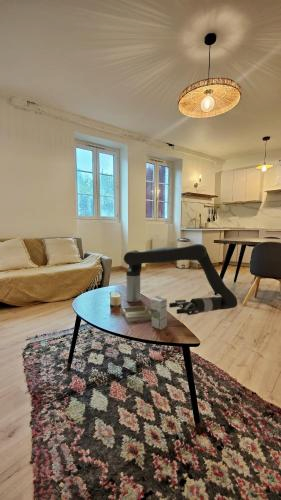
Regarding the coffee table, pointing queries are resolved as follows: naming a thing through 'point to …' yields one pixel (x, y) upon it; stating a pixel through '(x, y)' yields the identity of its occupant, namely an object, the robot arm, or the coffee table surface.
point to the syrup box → (159, 312)
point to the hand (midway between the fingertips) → (173, 308)
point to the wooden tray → (136, 314)
